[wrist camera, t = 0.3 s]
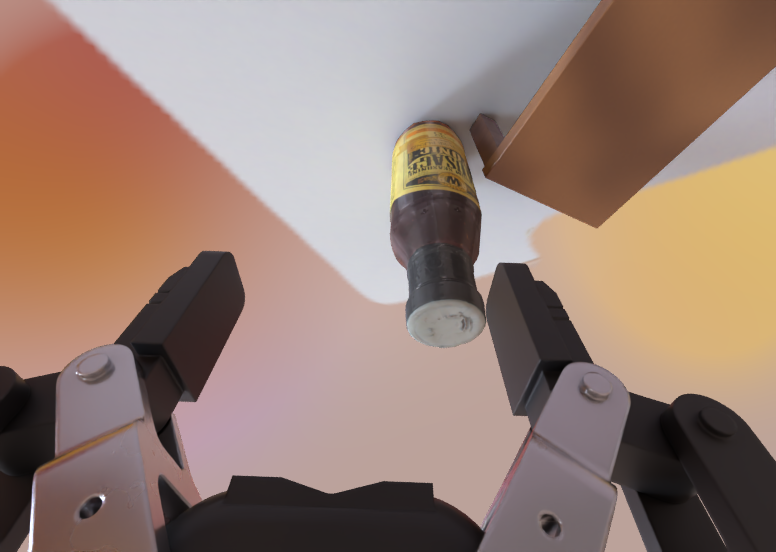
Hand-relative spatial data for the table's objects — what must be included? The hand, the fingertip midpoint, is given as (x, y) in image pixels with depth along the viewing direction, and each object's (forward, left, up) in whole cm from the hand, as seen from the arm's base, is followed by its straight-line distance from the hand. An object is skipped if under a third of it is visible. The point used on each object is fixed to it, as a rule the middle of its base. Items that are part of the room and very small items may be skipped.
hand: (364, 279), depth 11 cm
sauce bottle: (+4, +7, -23) cm, 24 cm away
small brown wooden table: (-7, +15, -23) cm, 28 cm away
